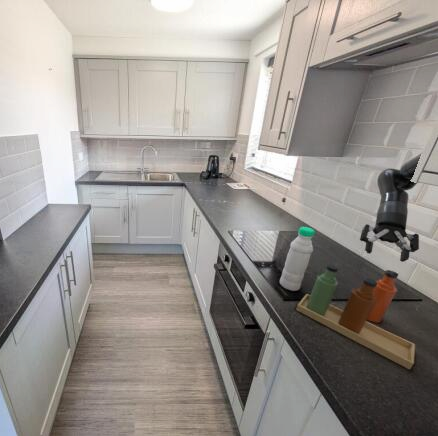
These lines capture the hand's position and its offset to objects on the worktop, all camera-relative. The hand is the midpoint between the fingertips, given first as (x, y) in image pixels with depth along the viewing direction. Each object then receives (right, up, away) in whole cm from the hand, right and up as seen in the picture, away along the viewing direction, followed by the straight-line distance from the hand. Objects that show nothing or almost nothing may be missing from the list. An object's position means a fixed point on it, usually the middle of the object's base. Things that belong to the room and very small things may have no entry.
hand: (385, 256), depth 79 cm
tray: (-18, -22, -6) cm, 29 cm away
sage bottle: (-24, -18, 0) cm, 30 cm away
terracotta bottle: (-6, -20, -1) cm, 21 cm away
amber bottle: (-18, -21, -6) cm, 28 cm away
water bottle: (-25, -14, +13) cm, 32 cm away
